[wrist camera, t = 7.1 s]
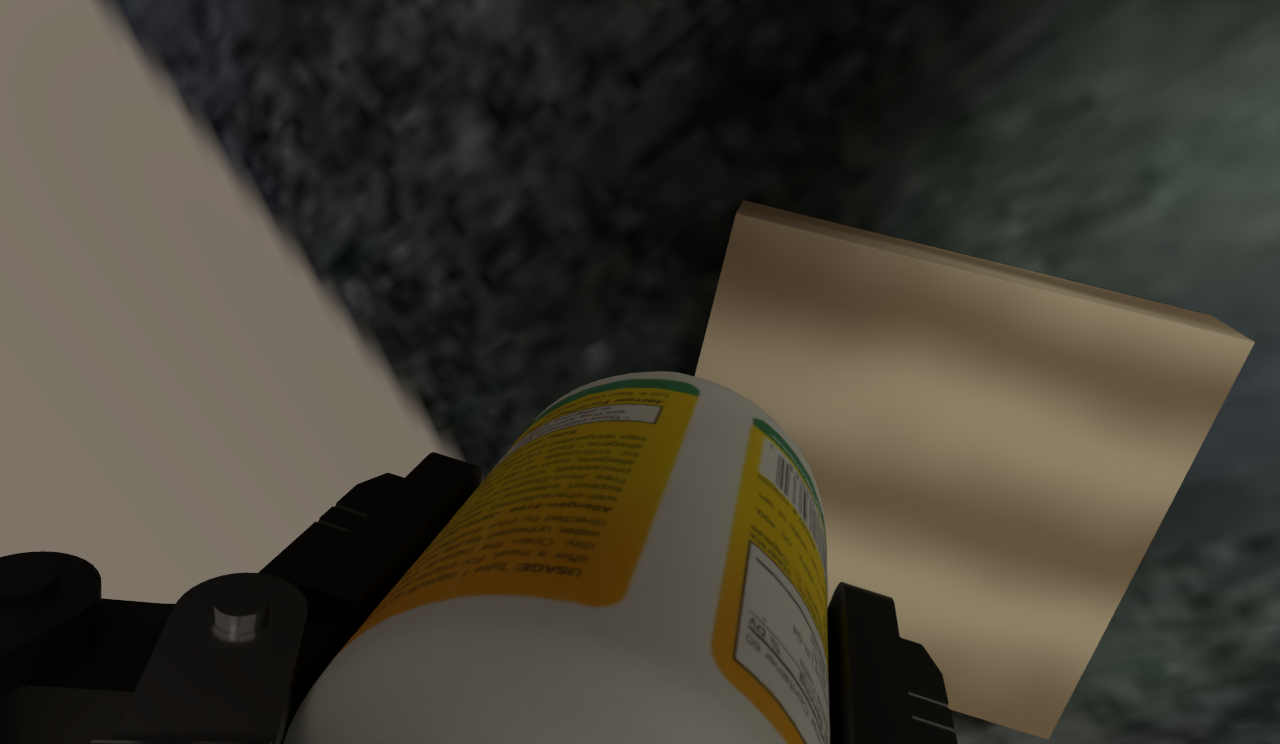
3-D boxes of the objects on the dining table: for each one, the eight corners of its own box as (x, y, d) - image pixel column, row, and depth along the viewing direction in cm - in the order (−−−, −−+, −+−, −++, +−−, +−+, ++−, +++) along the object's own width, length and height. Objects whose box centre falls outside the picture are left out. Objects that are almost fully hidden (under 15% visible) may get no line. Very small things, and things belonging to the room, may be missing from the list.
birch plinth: (743, 200, 30) (735, 213, 27) (1211, 315, 28) (1254, 342, 25) (648, 570, 35) (634, 612, 33) (1029, 684, 34) (1048, 739, 31)
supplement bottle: (887, 460, 13) (1055, 1283, 4) (729, 693, 15) (612, 1583, 6) (582, 302, 13) (105, 774, 4) (465, 554, 15) (-24, 1233, 6)
